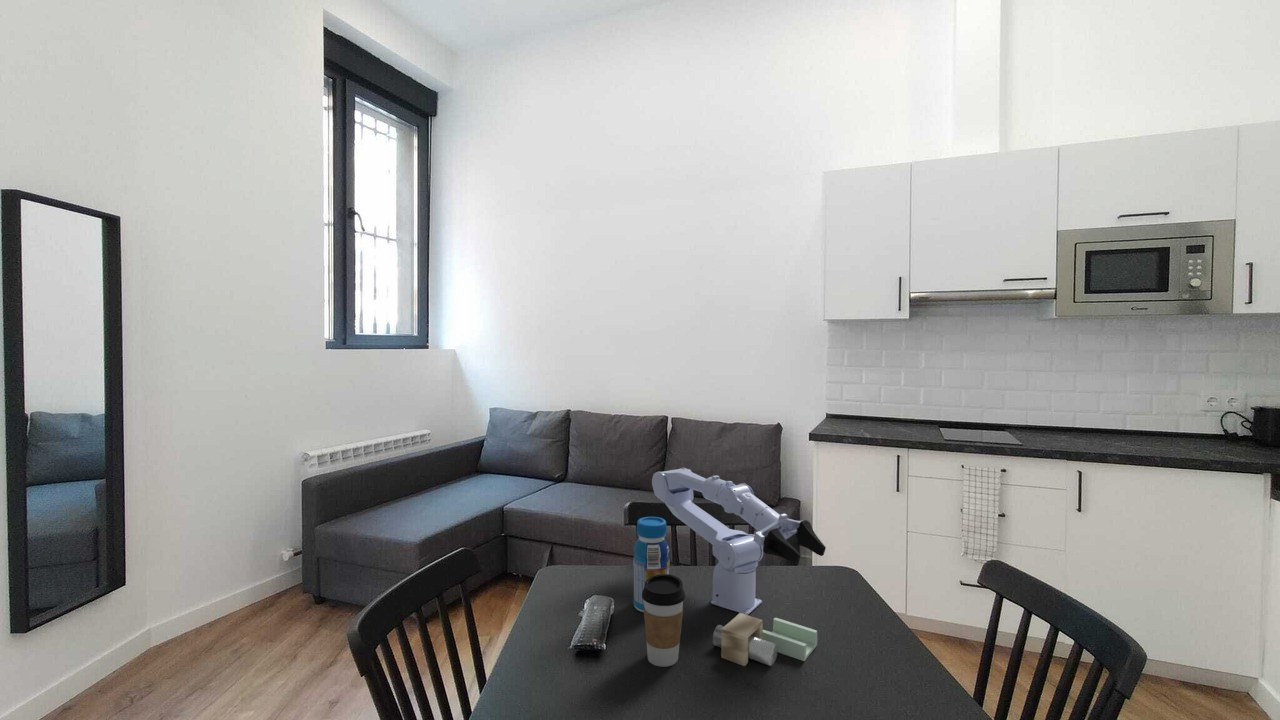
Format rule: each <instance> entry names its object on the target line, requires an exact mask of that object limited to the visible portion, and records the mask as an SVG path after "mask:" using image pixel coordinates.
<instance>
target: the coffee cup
mask: <svg viewBox="0 0 1280 720" xmlns="http://www.w3.org/2000/svg"><path fill="white" fill-rule="evenodd" d="M685 592H686V591H685V590H684V586H683V581H682V579H681V578H679V576H678V577H677V576H676V575H673V574H670V573H669V574H659V575H654V576H652V577H650V578H649V579H647V581H646V582H645V584H644V589H643V591H642V598H643V600H644V607H643V609H644V612H643V617H644V619H643V621H644V629H645V631H644V632H645V640H646V652H647V653H646V654H647V661H648V662H649V663H650V664H652V665H653V666H657V667H662V668H664V667H665V668H666V667H667V668H668V667H670V666H673V665H675V664H676V663H677V662H678V660H679V652H680V641H681V633H682V624H683V623H682V622H683V616H684V615H683V614H684V605H683V603H684V601H685V599H686V593H685Z"/></svg>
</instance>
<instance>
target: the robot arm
mask: <svg viewBox="0 0 1280 720" xmlns="http://www.w3.org/2000/svg"><path fill="white" fill-rule="evenodd" d="M651 486H652V489H653V492H654V493H653V494H654V496H655V497H656V498H657V499H659V500H660V501H662V502H663V503H664V504H665V506H666V507H667V508H668V510H669V511H670V512H671V513H672V515H673V516H675V517H676V518H677V519H678V520H680V521H681V522H683V523H684V524H685V525H686V526H687V527H689V528H690V529H691V530H693V532H695V533H697V534H698V535H699V536H700V537H701V538H703V539H704V540H705V541H707V542H708V543H710V544H711V545H712V550H711V551H712V555H713V556H714V557H715V558H716V559H717V560H718V562H717V564H715V566H714V569H713V573H712V600H711V601H710V603H711V604H712V605H715V606H718V607H720V608H724V609H726V610H729V611H734V612H736V613H738V614H739V613H742V614H746V615H749V614H750V613H752V612H753V611H754V610H755V609H756V608H757V607H758V606H760V605H761V604H762V602H763V601H762V600H761V599H759V598H756V580H757V579H756V577H757V576H756V573H757V572H756V569H757V567H758V566H759V562H760V561H761V560H762V558H763V557H764V553H765V554H766V555H772V556H777V557H780V558H781V559H784V560H786V561H788V562H791V563H793V564H799V562H800V559H801V555H802V554H801V553H800V551H798V550H797V549H796V548H795V547H794V545H793V546H792V544H790V542H789V541H788V540H787V539H789V538H790V537H792V536H793V535H796V539H797V540H796V543H795V545H796V546H800V547H801V546H802V547H804V548H806V549H807V550H810V551H811V552H813V553H814V554H815V555H818V556H819V557H823V556H824V555H825V552H826V548H827V547H826V545H825V544H824V543H823V542H822V540H821V539H820V538H819V536H817V534H816V533H815V531H814V529H813V527H812V523H811V522H810V521H809V520H807V519H805V520H794V519H792V518H789V516H788V514H786V513H781V514H780V513H778V512H777V511H775V509H773V508H771V507H770V506H768V504H766V503H765V502H764V501H762V500H761V499H759V498H758V497H757V496H756V495H755V492H754V490H753V489H752V487H751V486H750V485H748V483H745V482H742V483H738V484H735V483H734V482H733V481H731V480H724V479H721V478H720V476H719V475H711V476H710V477H707V478H705V477H702V476H701V475H699V474H697V473H694V472H693V471H692V470H691V468H689V469H688V468H686V467H681V468H678V469H676V468H675V469H670V470H666V471H656V472H654V473H653V475H652V478H651ZM694 491H697V492H698V493H699V492H700V493H702V494H701V495H702V496H703V498H704V499H706V500H708V501H710V502H712V503H715V504H717V505H720V506H721V507H722V508H723V510H724V512H725V513H727V514H735V516H737V517H738V516H739V517H740V518H741V519H743V520H744V521H745V522H747V523H748V524H749V525H750V526H751V527H753V528H754V529H755V530H756V531H757V532H755V533H754V534H753V533H751V534H750V533H746V532H745V531H744V530H743V531H742V530H738V529H731V528H729V527H727V525H725V524H724V523H722V522H721V521H719V520H718V519H716V518H715V517H714V516H712V515H711V514H710V513H708V512H706V511H705V510H703V509H702V508H701V507H699V506H698V505H697V504H695V503H694V502H693V500H694V498H695V497H694Z"/></svg>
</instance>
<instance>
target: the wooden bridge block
mask: <svg viewBox="0 0 1280 720" xmlns="http://www.w3.org/2000/svg"><path fill="white" fill-rule="evenodd" d="M763 621H764V620H763V619H760V618H758V617H755V616H751V615H749V614H748V615H746V614H742V613H739V612H738V614H737V615H736V616H735V617H734V618H732V619H731V620H730V621H729V622H728V623H727V624H725V625H723V626H724V627H723V628H722V640H721V651H720V654H721V655H720V656H721V657H720V658H722V659H725V660H727V661H730V662H733V663H735V664H737V665H740V666H742V667H746V666H747V664H748V663H749V658H748V637H749V636H750V635H751V636H754V637H757V638H760V639H762V638H763V630H764V628H763V626H764V624H763Z"/></svg>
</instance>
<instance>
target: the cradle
mask: <svg viewBox="0 0 1280 720" xmlns="http://www.w3.org/2000/svg"><path fill="white" fill-rule="evenodd" d="M772 626H773V627H772V628H773V629H772V631H768V630H765V629H763V638H762V639H763V640H766V641H768V642H771V643H774V644H776V645H777V653H779V654H782V655H784V656H788V657H790V658H794V659H796V660H799V661H802V662H805V661H806V660H807V658H808V657H810V655H811V654H812V652H813V651H814V650H815V648H816V647H817V646H818V630H816V629H813V628H811V627H807V626H804V625H800V624H798V623H794V622H791V621H788V620H785V619H782V618H780V617H779V618H778V617H774V618H773V624H772Z"/></svg>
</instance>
